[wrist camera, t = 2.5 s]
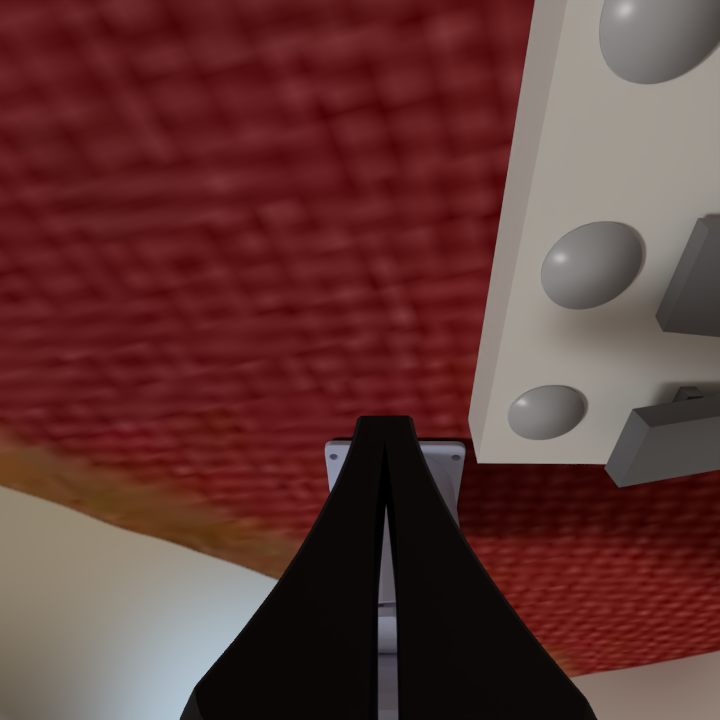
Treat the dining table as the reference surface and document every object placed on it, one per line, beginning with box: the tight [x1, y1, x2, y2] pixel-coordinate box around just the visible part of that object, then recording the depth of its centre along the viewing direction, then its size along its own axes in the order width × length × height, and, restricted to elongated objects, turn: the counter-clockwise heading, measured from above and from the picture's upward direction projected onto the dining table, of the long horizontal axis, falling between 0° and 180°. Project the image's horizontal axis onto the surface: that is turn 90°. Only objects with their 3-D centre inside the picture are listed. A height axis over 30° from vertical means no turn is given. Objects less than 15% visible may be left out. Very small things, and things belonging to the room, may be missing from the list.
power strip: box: [468, 0, 720, 464], centre depth 16 cm, size 21×12×4 cm, turn 2°
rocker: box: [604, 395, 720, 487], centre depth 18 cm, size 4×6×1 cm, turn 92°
